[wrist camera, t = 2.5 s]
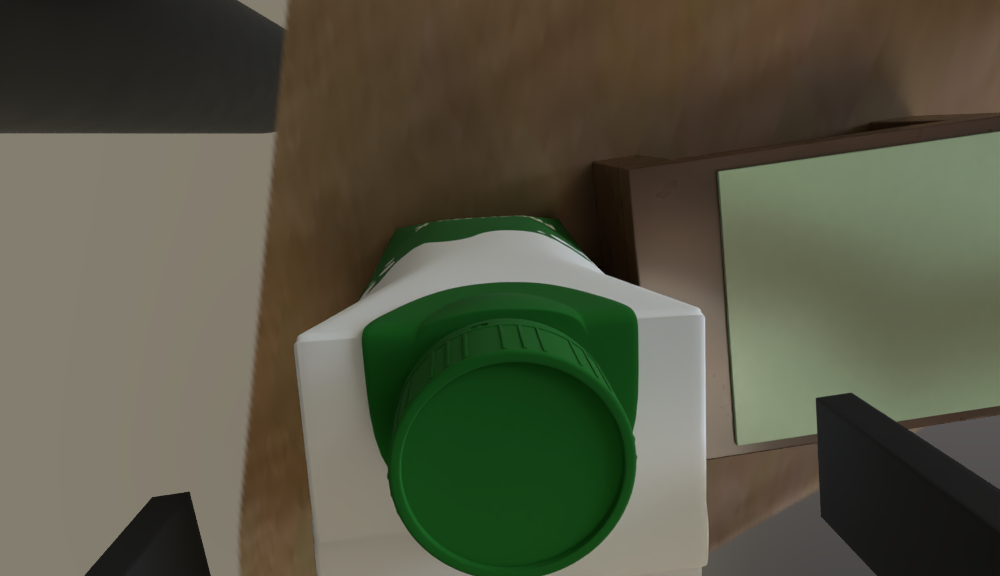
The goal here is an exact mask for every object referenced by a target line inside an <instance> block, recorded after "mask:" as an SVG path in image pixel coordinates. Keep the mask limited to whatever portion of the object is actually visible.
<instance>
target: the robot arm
mask: <svg viewBox="0 0 1000 576" xmlns="http://www.w3.org/2000/svg"><path fill="white" fill-rule="evenodd" d="M816 417H817V439H818V461H819V483H820V504H821V505H820V506H821V517H822V518H823V519H824V520H825V521H826V522H827V523H828V524H829V525H830V526H831V528H832V529H833V530H834V531H835V532H837V534H838V535H839V536H840V537H841V538H842V539H843V540H844V541H845V542H846V543H847V544H848V545H849V546H850V548H851V549H852V550H853V551H854V552H855V553H856V554H857V555H858V556H859V557H860V558H861V559H862V560H863V561H864V562H865V563H866V564H867V566H868V567H869V568H870V569H871V570H872V571H873V572H874V573H875V574H876V575H877V576H1000V489H998V488H996V487H995V486H993V485H992V484H990V483H989V482H987V481H986V480H984V479H983V478H981V477H980V476H978V475H977V474H975V473H974V472H972V471H971V470H969V469H967V468H966V467H964V466H963V465H961V464H960V463H958V462H957V461H955V460H954V459H952V458H950V457H949V456H948V455H946V454H945V453H943V452H941V451H940V450H938V449H937V448H935V447H934V446H932V445H931V444H929V443H928V442H926V441H925V440H923V439H921V438H920V437H918V436H917V435H916V434H914V433H913V432H911V431H909V430H908V429H906V428H905V427H903V426H902V425H900V424H899V423H897V422H896V421H894V420H893V419H891V418H890V417H888V416H887V415H885V414H884V413H882V412H880V411H879V410H877V409H876V408H874V407H873V406H871V405H870V404H868V403H867V402H865V401H864V400H862V399H861V398H859V397H858V396H856V395H855V394H853V393H845V394H838V395H831V396H825V397H818V398H816ZM85 576H211V575H210V571H209V567H208V563H207V559H206V556H205V551H204V548H203V543H202V540H201V536H200V532H199V528H198V524H197V520H196V516H195V512H194V508H193V504H192V500H191V496H190V492H184V493H178V494H171V495H164V496H158V497H152V498H151V499H150V500H149V502H148V503H147V504H146V505H145V506H144V507H143V509H142V510H141V511H140V512H139V513H138V514H137V515H136V517H135V518H134V519H133V520H132V521H131V522H130V524H129V525H128V526H127V527H126V528H125V529H124V531H123V532H122V533H121V534H120V535H119V536H118V538H117V539H116V540H115V541H114V542H113V543H112V544H111V546H110V547H109V548H108V549H107V550H106V551H105V552H104V554H103V555H102V556H101V557H100V558H99V559H98V561H97V562H96V563H95V564H94V565H93V566H92V568H91V569H90V570H89V571H88V572H87V573H86V575H85Z"/></svg>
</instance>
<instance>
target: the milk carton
mask: <svg viewBox="0 0 1000 576" xmlns="http://www.w3.org/2000/svg"><path fill="white" fill-rule="evenodd" d="M294 354H295V363H296V372H297V381H298V391H299V400H300V409H301V418H302V427H303V436H304V446H305V454H306V463H307V472H308V481H309V490H310V499H311V508H312V529H313V540H314V551H315V561H316V571H317V576H702V567H703V566H705V565H707V562H708V546H709V526H708V513H707V505H706V368H705V316H704V315H703V314H702V313H701V310H700V309H699V308H698V307H695V306H692V305H690V304H687V303H684V302H681V301H678V300H675V299H673V298H670V297H667V296H664V295H661V294H658V293H656V292H653V291H650V290H647V289H644V288H642V287H639V286H636V285H633V284H630V283H628V282H625V281H622V280H619V279H616V278H614V277H611V276H608V275H605V274H604V273H603V272H602V271H601V270H600V269H599V268H598V267H597V266H596V265H595V264H594V263H593V262H592V261H590V260H589V258H588V257H587V256H586V254H585V253H584V252H583V250H582V249H581V248H580V247H579V245H578V244H577V243H576V242H575V240H574V239H573V238H572V237H571V235H570V234H569V233H568V232H567V230H566V229H565V228H564V227H563V225H562V224H561V223H560V221H559V220H558V219H553V218H542V217H532V216H497V217H477V218H464V219H452V220H441V221H434V222H428V223H423V224H418V225H414V226H409V227H404V228H398V229H396V230H395V232H394V234H393V236H392V238H391V240H390V242H389V244H388V246H387V248H386V250H385V252H384V254H383V256H382V258H381V260H380V262H379V264H378V266H377V268H376V270H375V272H374V274H373V276H372V278H371V280H370V282H369V283H368V285H367V287H366V289H365V290H364V292H363V294H362V295H361V297H360V299H359V300H358V302H357V303H355V304H353V305H352V306H350V307H348V308H346V309H344V310H343V311H341V312H339V313H337V314H336V315H334V316H332V317H330V318H329V319H327V320H325V321H323V322H321V323H320V324H318V325H316V326H314V327H313V328H311V329H309V330H307V331H305V332H304V333H302V334H300V335H299V336H298V337H297V341H296V343H295V344H294Z"/></svg>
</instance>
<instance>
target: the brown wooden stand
mask: <svg viewBox="0 0 1000 576" xmlns="http://www.w3.org/2000/svg"><path fill="white" fill-rule="evenodd" d="M592 164H593V173H594V182H595V192H596V201H597V210H598V220H599V229H600V238H601V248H602V257H603V266H604V274H605V275H608V276H611V277H614V278H616V279H619V280H622V281H625V282H628V283H630V284H633V285H636V286H639V287H642V288H644V289H647V290H650V291H653V292H656V293H658V294H661V295H664V296H667V297H670V298H673V299H675V300H678V301H681V302H684V303H687V304H690V305H692V306H695V307H698V308H699V309H700V310H701V313H702V314H703V315H704V316H705V368H706V460H710V459H717V458H723V457H730V456H736V455H743V454H749V453H756V452H762V451H769V450H775V449H782V448H788V447H795V446H801V445H808V444H814V443H818V439H817V417H816V398H818V397H825V396H831V395H838V394H845V393H853V394H855V395H856V396H858V397H859V398H861V399H862V400H864V401H865V402H867V403H868V404H870V405H871V406H873V407H874V408H876V409H877V410H879V411H880V412H882V413H884V414H885V415H887V416H888V417H890V418H891V419H893V420H894V421H896V422H897V423H899V424H900V425H902V426H903V427H905V428H906V429H912V428H918V427H925V426H932V425H937V424H944V423H951V422H958V421H964V420H970V419H976V418H984V417H990V416H997V415H1000V113H979V114H953V115H928V116H910V117H903V118H896V119H889V120H882V121H875V122H871V123H870V124H869V131H868V132H861V133H854V134H847V135H840V136H833V137H826V138H819V139H812V140H805V141H798V142H791V143H784V144H777V145H770V146H762V147H755V148H748V149H741V150H734V151H727V152H720V153H713V154H706V155H699V156H692V157H685V158H678V159H665V158H657V157H648V156H640V155H635V156H628V157H621V158H614V159H607V160H600V161H594V162H593V163H592Z"/></svg>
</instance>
